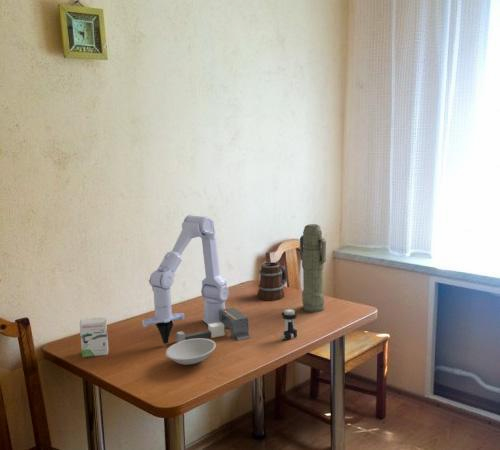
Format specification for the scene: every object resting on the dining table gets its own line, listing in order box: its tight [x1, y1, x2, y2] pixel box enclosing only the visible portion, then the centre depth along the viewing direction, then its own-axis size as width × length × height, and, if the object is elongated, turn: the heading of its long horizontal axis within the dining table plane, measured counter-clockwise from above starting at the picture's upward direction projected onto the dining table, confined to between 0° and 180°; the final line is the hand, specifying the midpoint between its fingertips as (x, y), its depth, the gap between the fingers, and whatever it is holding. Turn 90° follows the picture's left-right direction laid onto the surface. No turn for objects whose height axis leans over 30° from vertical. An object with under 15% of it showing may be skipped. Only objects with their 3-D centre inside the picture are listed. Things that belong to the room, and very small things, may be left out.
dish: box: [165, 338, 217, 366], centre depth 164 cm, size 18×14×5 cm
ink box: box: [79, 316, 109, 358], centre depth 174 cm, size 9×5×12 cm, turn 103°
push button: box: [280, 308, 298, 341], centre depth 182 cm, size 7×5×10 cm
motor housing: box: [219, 307, 252, 341], centre depth 190 cm, size 18×6×7 cm, turn 26°
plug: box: [176, 322, 226, 343], centre depth 185 cm, size 4×17×4 cm, turn 116°
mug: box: [257, 261, 288, 301], centre depth 231 cm, size 16×12×15 cm
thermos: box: [299, 223, 327, 313], centre depth 210 cm, size 9×12×35 cm
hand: (165, 342), depth 179 cm, fingers closed
